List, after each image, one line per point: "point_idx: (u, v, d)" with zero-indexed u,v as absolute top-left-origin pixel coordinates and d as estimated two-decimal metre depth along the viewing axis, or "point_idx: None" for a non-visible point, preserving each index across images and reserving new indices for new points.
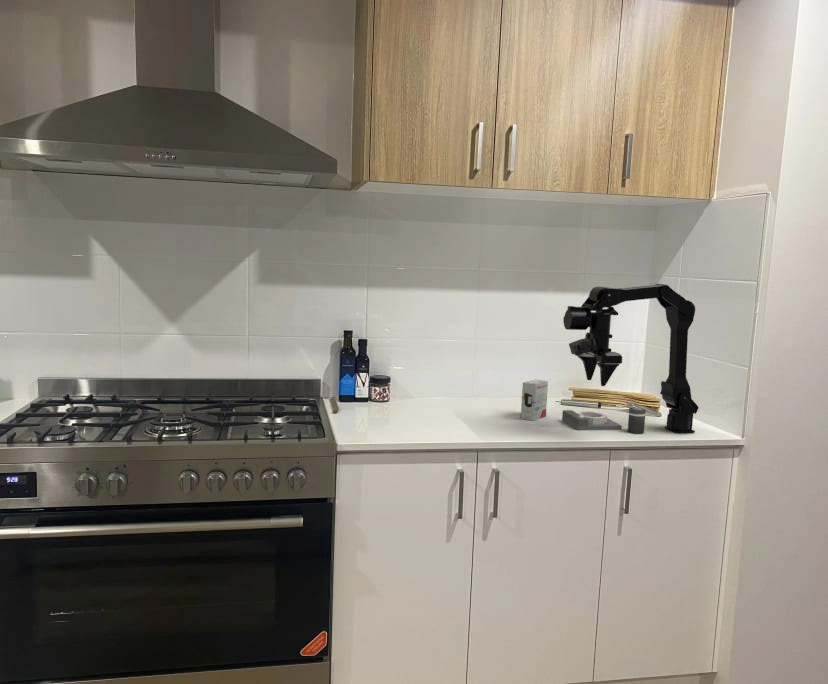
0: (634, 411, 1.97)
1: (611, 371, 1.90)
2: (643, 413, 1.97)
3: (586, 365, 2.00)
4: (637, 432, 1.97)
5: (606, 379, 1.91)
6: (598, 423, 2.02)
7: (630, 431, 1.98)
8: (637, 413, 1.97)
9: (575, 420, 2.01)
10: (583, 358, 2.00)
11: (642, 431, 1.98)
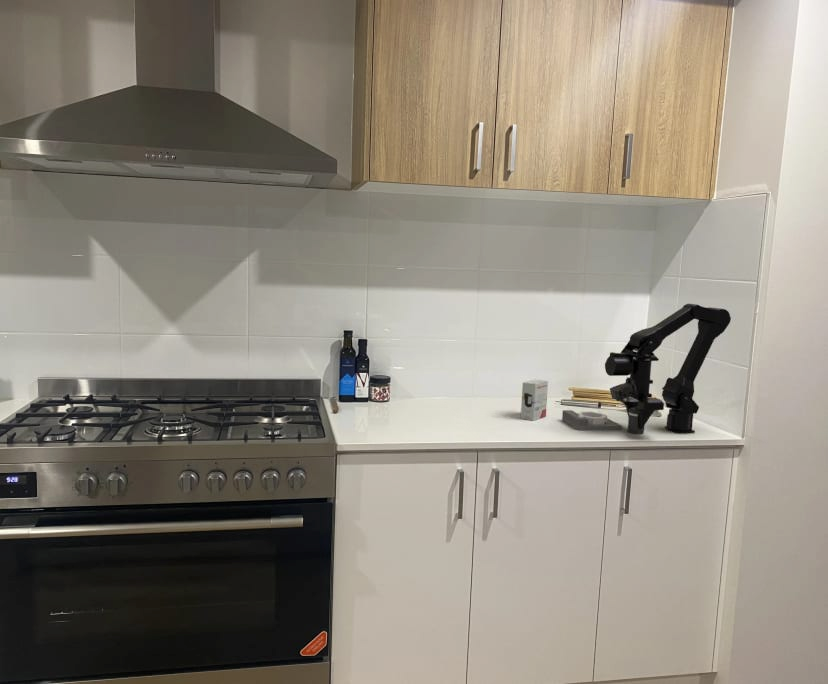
0: (634, 411, 1.97)
1: (648, 415, 1.95)
2: None
3: None
4: (637, 432, 1.97)
5: (643, 422, 1.96)
6: (598, 423, 2.02)
7: (630, 431, 1.98)
8: (637, 413, 1.97)
9: (575, 420, 2.01)
10: (626, 403, 2.01)
11: (642, 431, 1.98)
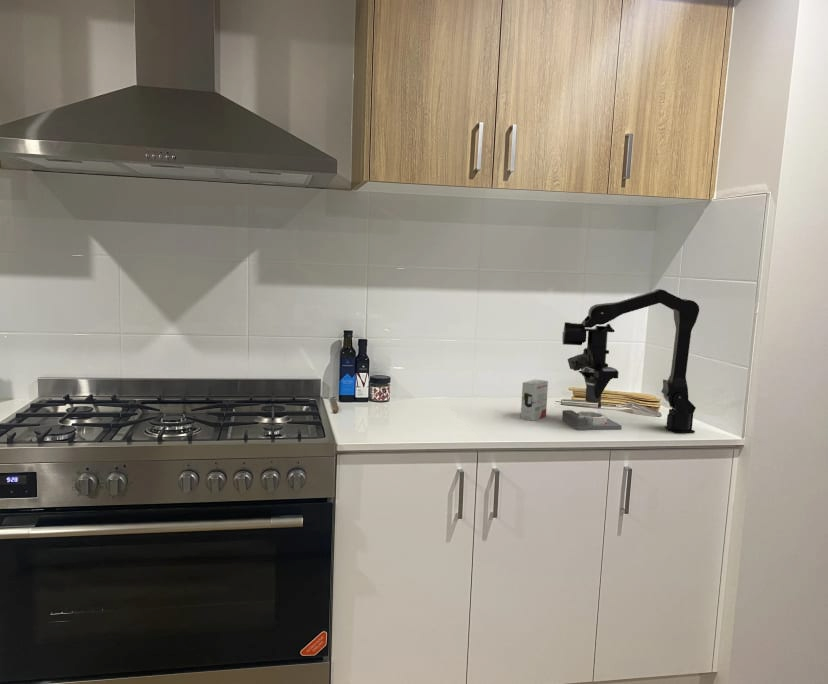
0: (591, 380, 2.03)
1: (605, 384, 2.01)
2: None
3: None
4: (594, 401, 2.03)
5: (600, 391, 2.02)
6: (598, 423, 2.02)
7: (587, 400, 2.04)
8: None
9: (575, 420, 2.01)
10: (584, 373, 2.07)
11: (599, 400, 2.04)
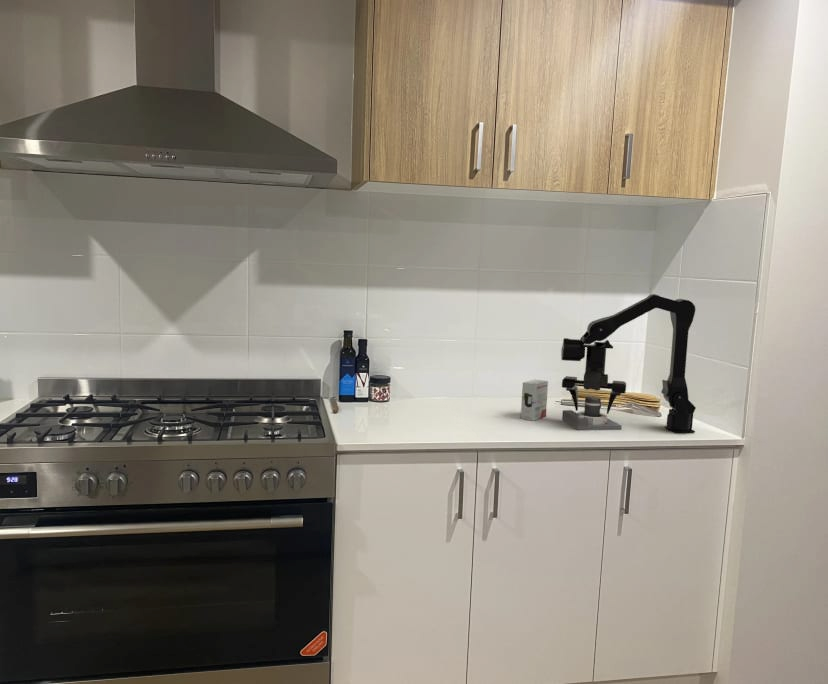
0: (597, 401, 2.03)
1: None
2: None
3: (576, 397, 2.06)
4: None
5: None
6: (598, 423, 2.02)
7: None
8: (599, 402, 2.04)
9: (575, 420, 2.01)
10: (575, 391, 2.05)
11: None
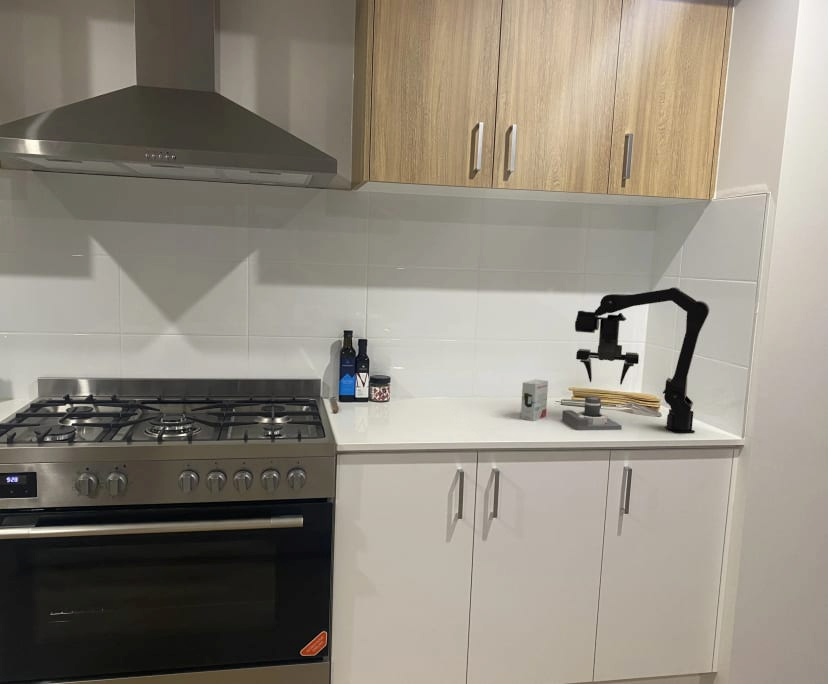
0: (597, 401, 2.03)
1: None
2: None
3: (590, 368, 2.12)
4: None
5: None
6: (598, 423, 2.02)
7: None
8: (599, 402, 2.04)
9: (575, 420, 2.01)
10: (589, 362, 2.11)
11: None
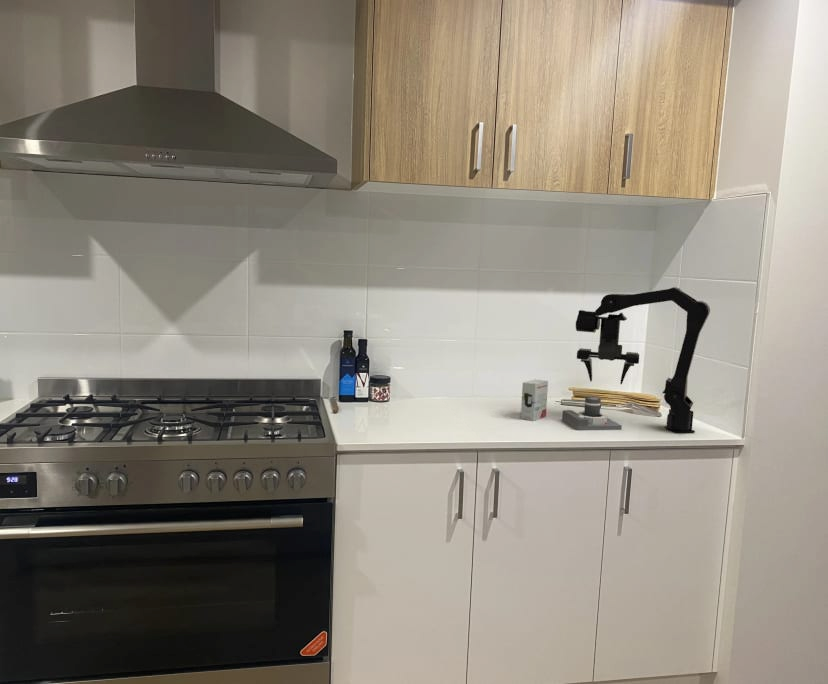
0: (597, 401, 2.03)
1: None
2: None
3: (591, 368, 2.12)
4: None
5: None
6: (598, 423, 2.02)
7: None
8: (599, 402, 2.04)
9: (575, 420, 2.01)
10: (590, 362, 2.11)
11: None
